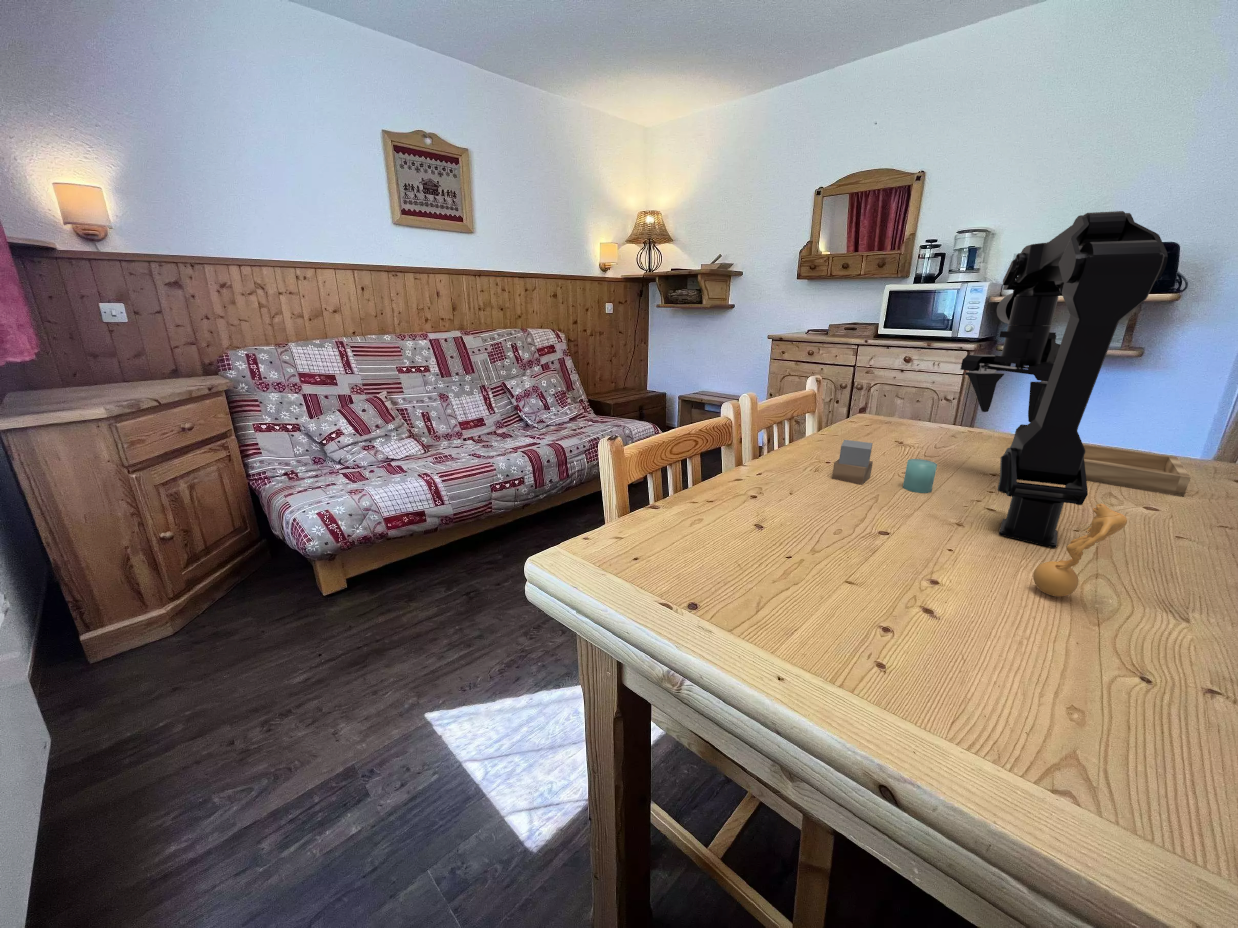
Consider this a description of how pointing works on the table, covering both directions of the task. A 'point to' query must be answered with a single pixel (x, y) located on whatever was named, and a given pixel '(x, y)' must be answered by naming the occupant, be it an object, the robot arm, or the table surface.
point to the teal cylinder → (919, 475)
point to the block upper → (855, 453)
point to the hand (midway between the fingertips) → (1007, 416)
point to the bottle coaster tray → (1135, 470)
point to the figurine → (1077, 554)
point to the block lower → (851, 473)
